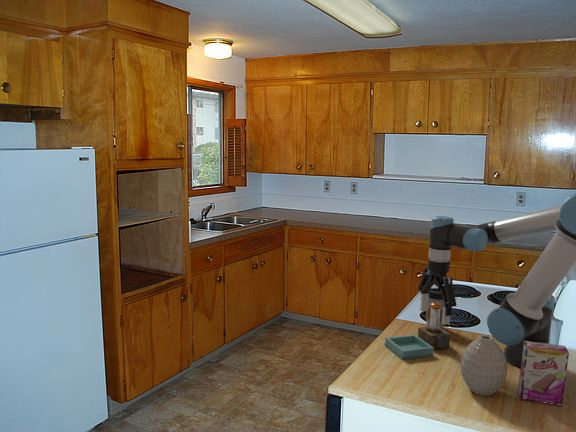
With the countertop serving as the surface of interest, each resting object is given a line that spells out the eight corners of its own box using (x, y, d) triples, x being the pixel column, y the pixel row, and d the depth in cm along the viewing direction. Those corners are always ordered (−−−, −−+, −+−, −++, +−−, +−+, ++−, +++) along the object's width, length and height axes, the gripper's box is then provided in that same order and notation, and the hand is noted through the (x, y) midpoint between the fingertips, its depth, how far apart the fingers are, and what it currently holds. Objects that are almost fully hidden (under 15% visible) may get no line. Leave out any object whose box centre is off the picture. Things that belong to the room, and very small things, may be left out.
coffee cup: (429, 322, 207) (431, 286, 205) (449, 327, 202) (451, 290, 200) (420, 327, 201) (422, 291, 199) (440, 333, 196) (443, 295, 193)
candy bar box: (520, 400, 146) (525, 346, 144) (517, 392, 151) (522, 339, 148) (563, 407, 143) (569, 351, 141) (559, 398, 148) (565, 344, 145)
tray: (433, 355, 175) (433, 347, 174) (402, 359, 171) (402, 351, 171) (414, 342, 186) (414, 334, 186) (385, 345, 183) (385, 337, 182)
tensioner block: (451, 348, 181) (453, 335, 180) (432, 351, 179) (433, 337, 178) (436, 338, 190) (437, 325, 189) (417, 340, 188) (418, 327, 187)
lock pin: (440, 345, 184) (443, 304, 182) (431, 346, 183) (434, 305, 181) (434, 341, 188) (437, 301, 185) (425, 342, 186) (428, 302, 184)
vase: (512, 391, 151) (517, 338, 149) (492, 406, 143) (497, 350, 140) (471, 376, 160) (475, 325, 158) (450, 389, 152) (454, 336, 149)
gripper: (470, 268, 170) (465, 328, 173) (428, 251, 193) (424, 304, 197) (451, 269, 168) (446, 330, 171) (411, 252, 191) (407, 306, 194)
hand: (434, 317), depth 184 cm, fingers open, 13 cm apart
